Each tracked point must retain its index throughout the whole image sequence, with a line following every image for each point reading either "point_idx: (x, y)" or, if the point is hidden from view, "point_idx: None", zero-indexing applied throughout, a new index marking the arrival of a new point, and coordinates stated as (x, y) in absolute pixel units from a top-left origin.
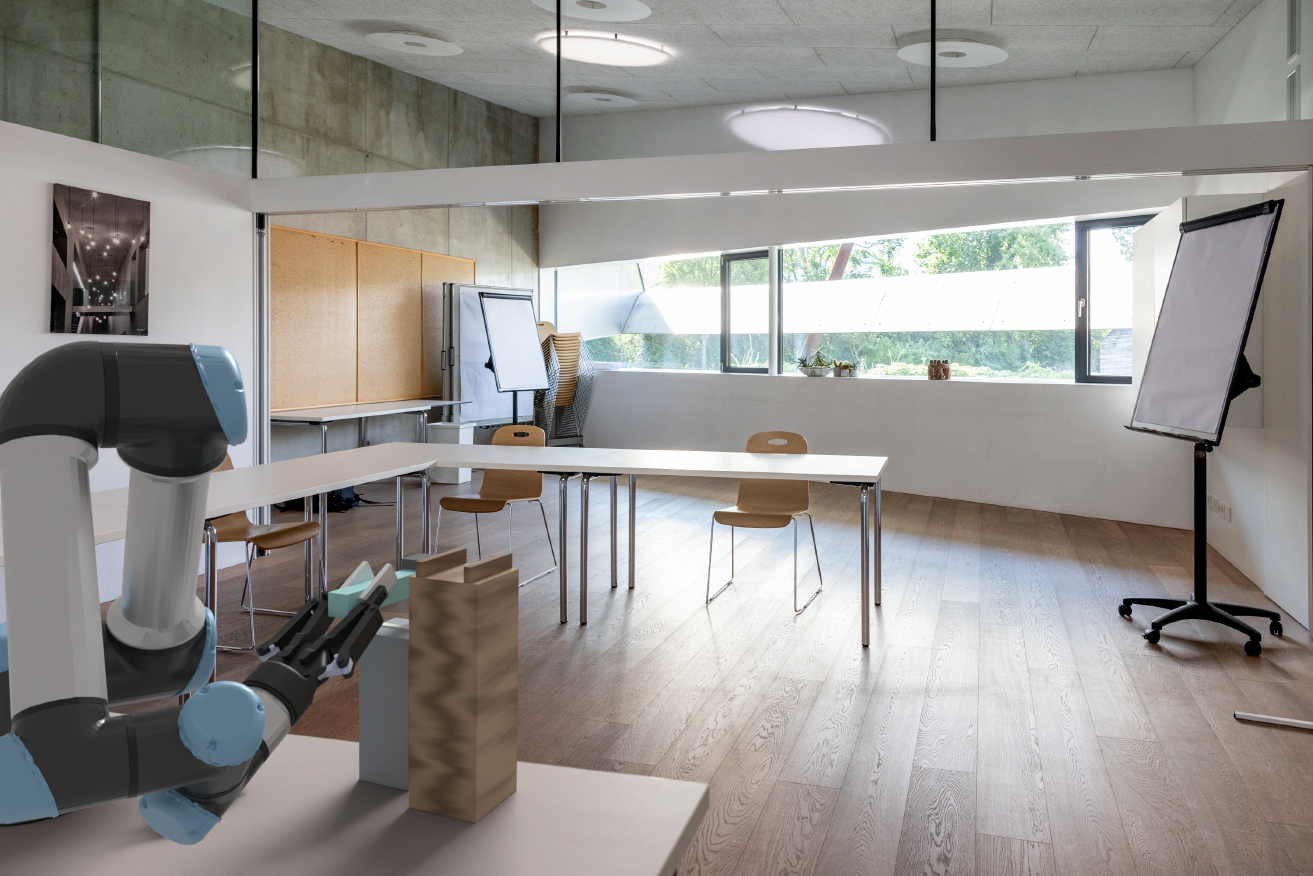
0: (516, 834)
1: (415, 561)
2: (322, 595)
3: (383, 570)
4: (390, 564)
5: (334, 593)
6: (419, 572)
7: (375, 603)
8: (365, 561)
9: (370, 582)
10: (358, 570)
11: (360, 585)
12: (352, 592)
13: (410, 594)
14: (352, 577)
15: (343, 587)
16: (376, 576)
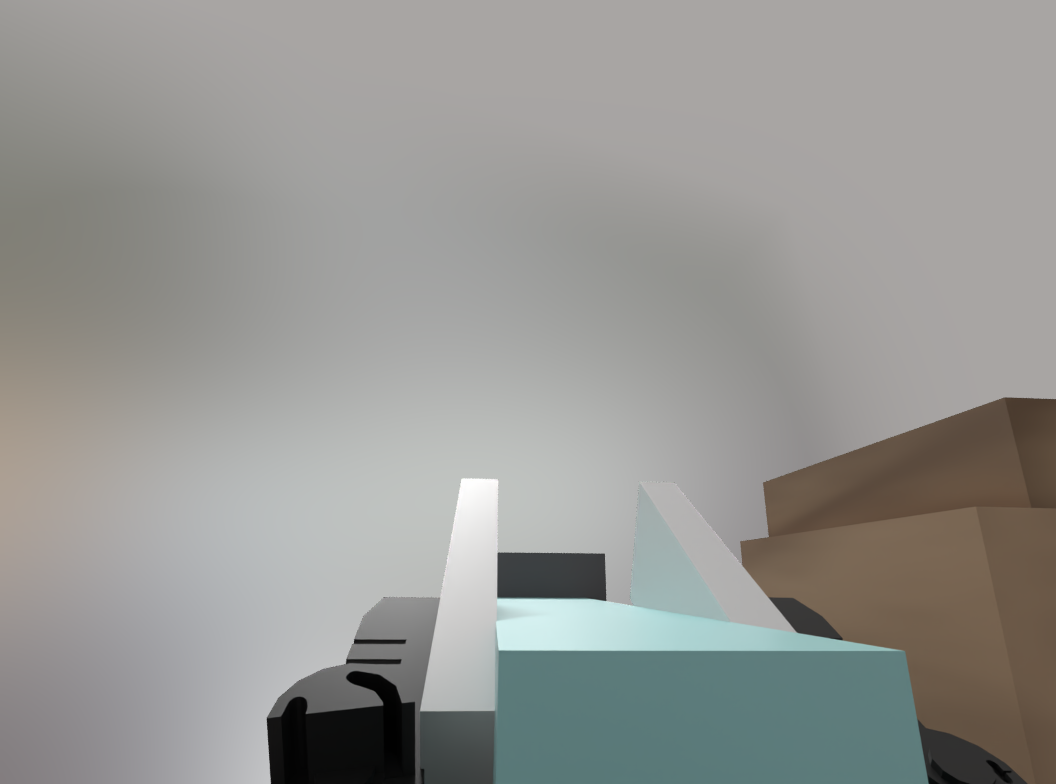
0: None
1: (544, 559)
2: (276, 740)
3: (676, 507)
4: (674, 483)
5: (638, 656)
6: (1050, 472)
7: None
8: (479, 480)
9: (555, 609)
10: (485, 514)
11: (567, 615)
12: (790, 636)
13: (1017, 651)
14: (481, 552)
15: (474, 627)
16: (679, 536)
